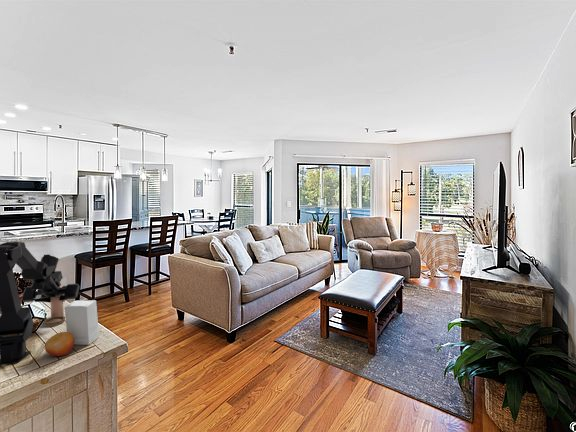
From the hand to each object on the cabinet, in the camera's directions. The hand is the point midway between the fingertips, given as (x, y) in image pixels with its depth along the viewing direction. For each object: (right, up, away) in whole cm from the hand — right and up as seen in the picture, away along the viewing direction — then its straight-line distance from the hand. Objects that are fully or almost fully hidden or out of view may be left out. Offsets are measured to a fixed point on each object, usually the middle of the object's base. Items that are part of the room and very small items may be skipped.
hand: (58, 301), depth 129 cm
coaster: (+4, -7, -6) cm, 10 cm away
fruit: (+23, -10, -29) cm, 38 cm away
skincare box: (+25, -9, -20) cm, 34 cm away
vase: (0, -7, -1) cm, 7 cm away
